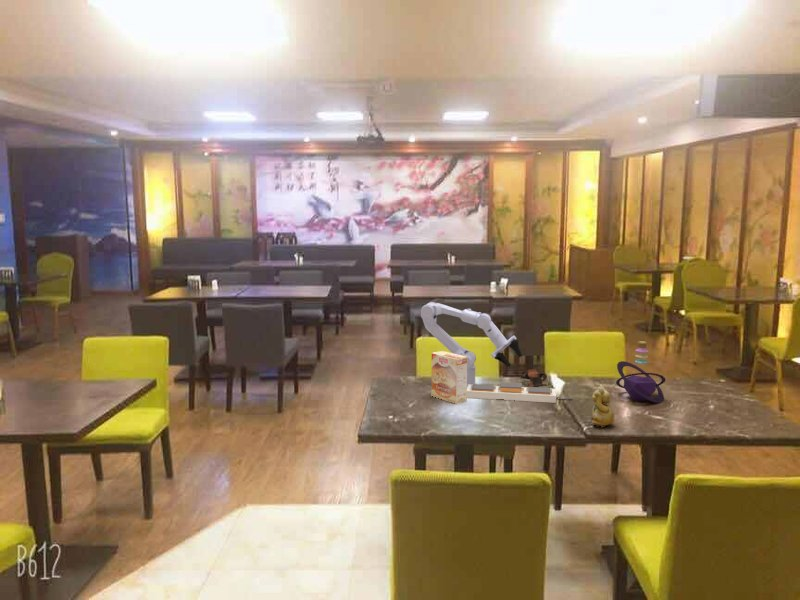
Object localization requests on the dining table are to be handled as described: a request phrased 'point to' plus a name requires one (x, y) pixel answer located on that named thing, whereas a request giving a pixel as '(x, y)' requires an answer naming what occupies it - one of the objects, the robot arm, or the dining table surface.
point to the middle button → (511, 387)
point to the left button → (483, 387)
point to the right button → (539, 390)
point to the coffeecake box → (449, 377)
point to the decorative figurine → (602, 408)
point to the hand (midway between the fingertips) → (515, 361)
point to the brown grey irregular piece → (533, 377)
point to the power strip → (513, 395)
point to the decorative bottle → (640, 379)
